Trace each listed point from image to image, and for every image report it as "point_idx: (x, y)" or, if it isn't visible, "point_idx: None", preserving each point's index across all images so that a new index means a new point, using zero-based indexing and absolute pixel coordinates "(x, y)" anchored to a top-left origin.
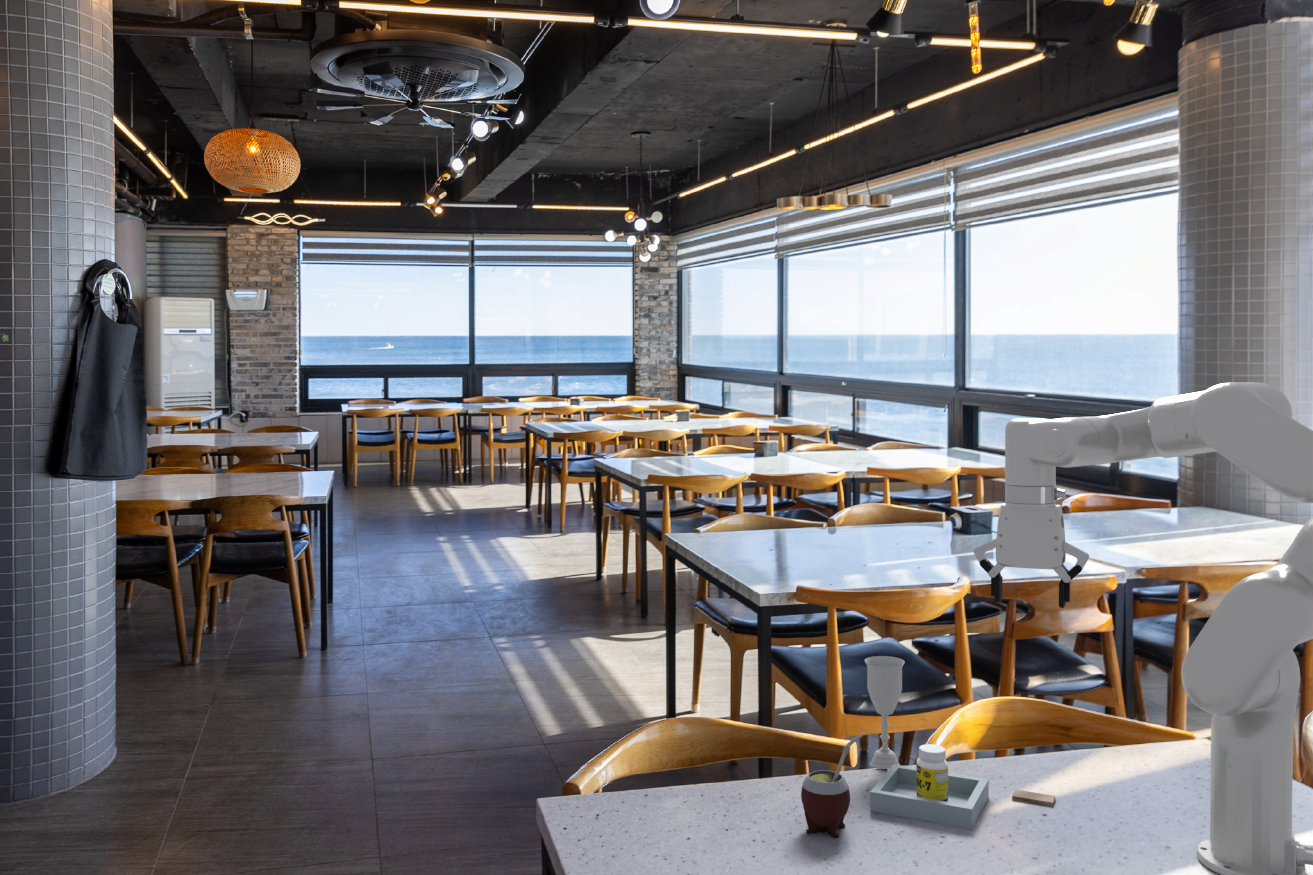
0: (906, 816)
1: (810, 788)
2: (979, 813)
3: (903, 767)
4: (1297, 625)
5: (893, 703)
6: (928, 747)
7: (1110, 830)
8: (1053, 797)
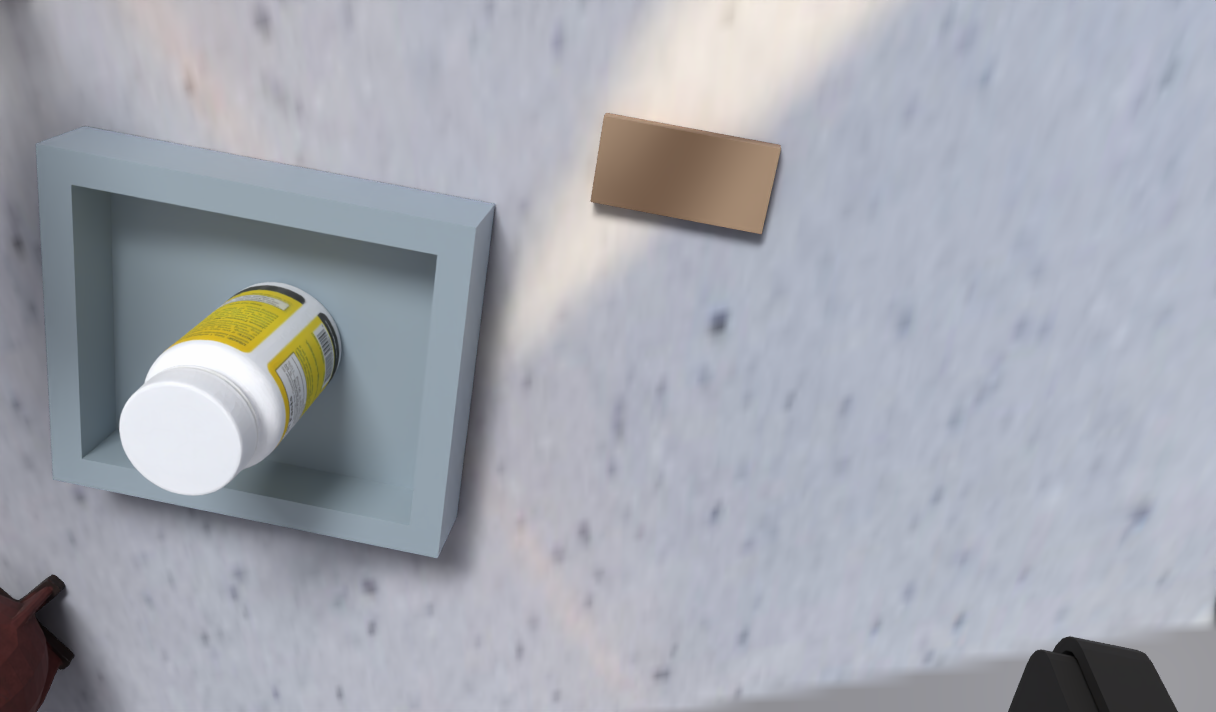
0: None
1: None
2: (470, 394)
3: (91, 174)
4: None
5: None
6: (160, 431)
7: (959, 416)
8: (770, 171)
